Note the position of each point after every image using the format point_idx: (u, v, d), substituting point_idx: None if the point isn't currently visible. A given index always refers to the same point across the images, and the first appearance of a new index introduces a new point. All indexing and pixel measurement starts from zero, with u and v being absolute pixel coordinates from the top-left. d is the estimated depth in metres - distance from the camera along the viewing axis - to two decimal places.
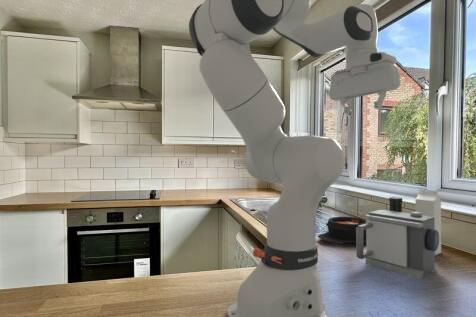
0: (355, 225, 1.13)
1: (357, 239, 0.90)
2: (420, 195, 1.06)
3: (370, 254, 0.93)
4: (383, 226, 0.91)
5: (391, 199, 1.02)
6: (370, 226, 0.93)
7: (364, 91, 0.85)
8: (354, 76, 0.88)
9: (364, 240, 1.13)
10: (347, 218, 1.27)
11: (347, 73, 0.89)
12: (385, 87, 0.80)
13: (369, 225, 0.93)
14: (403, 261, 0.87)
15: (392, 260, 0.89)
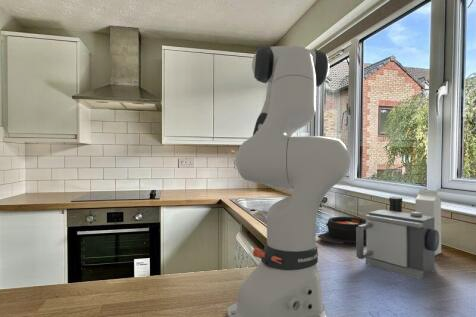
0: (355, 225, 1.13)
1: (357, 239, 0.90)
2: (420, 195, 1.06)
3: (370, 254, 0.93)
4: (383, 226, 0.91)
5: (391, 199, 1.02)
6: (370, 226, 0.93)
7: None
8: None
9: (364, 240, 1.13)
10: (347, 218, 1.27)
11: None
12: None
13: (369, 225, 0.93)
14: (403, 261, 0.87)
15: (392, 260, 0.89)
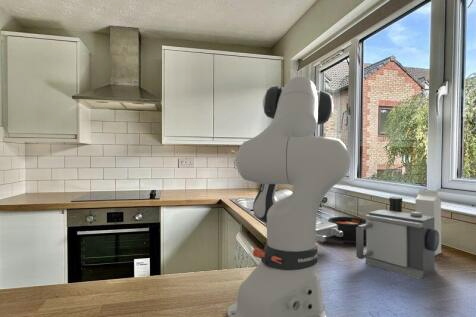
0: (355, 225, 1.13)
1: (357, 239, 0.90)
2: (420, 195, 1.06)
3: (370, 254, 0.93)
4: (383, 226, 0.91)
5: (391, 199, 1.02)
6: (370, 226, 0.93)
7: (323, 227, 1.03)
8: None
9: (364, 240, 1.13)
10: (347, 218, 1.27)
11: None
12: (334, 225, 1.07)
13: (369, 225, 0.93)
14: (403, 261, 0.87)
15: (392, 260, 0.89)
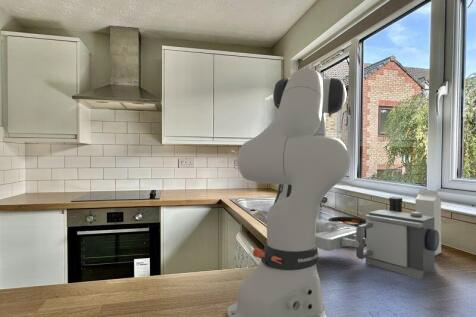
0: (355, 225, 1.13)
1: (357, 239, 0.90)
2: (420, 195, 1.06)
3: (370, 254, 0.93)
4: (383, 226, 0.91)
5: (391, 199, 1.02)
6: (370, 226, 0.93)
7: (350, 233, 0.95)
8: (330, 232, 0.97)
9: None
10: (347, 218, 1.27)
11: (323, 231, 0.97)
12: None
13: (369, 225, 0.93)
14: (403, 261, 0.87)
15: (392, 260, 0.89)
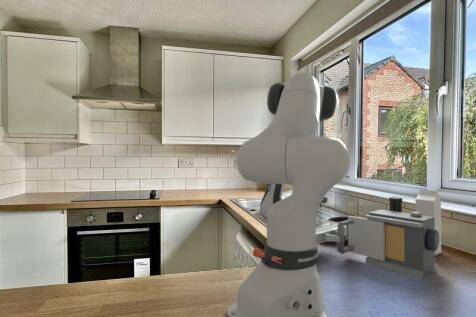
0: None
1: (338, 235, 0.95)
2: (420, 195, 1.06)
3: (351, 249, 0.98)
4: (363, 222, 0.96)
5: (391, 199, 1.02)
6: (351, 222, 0.98)
7: (333, 229, 1.00)
8: None
9: None
10: (347, 218, 1.27)
11: None
12: None
13: (350, 221, 0.98)
14: (381, 255, 0.92)
15: (371, 255, 0.94)
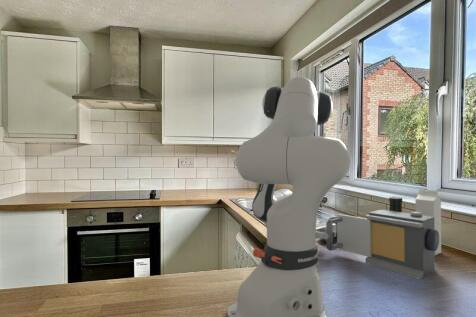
0: None
1: (327, 232, 0.99)
2: (420, 195, 1.06)
3: (340, 246, 1.02)
4: (351, 220, 1.00)
5: (391, 199, 1.02)
6: (340, 220, 1.02)
7: (322, 226, 1.04)
8: None
9: None
10: None
11: None
12: None
13: (339, 219, 1.02)
14: (368, 251, 0.95)
15: (359, 251, 0.98)
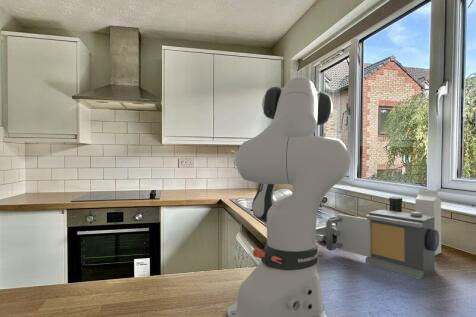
0: None
1: (327, 232, 0.99)
2: (420, 195, 1.06)
3: (339, 246, 1.02)
4: (351, 220, 1.00)
5: (391, 199, 1.02)
6: (339, 220, 1.02)
7: (322, 226, 1.04)
8: None
9: None
10: None
11: None
12: (332, 224, 1.07)
13: (338, 219, 1.02)
14: (367, 251, 0.95)
15: (358, 251, 0.98)
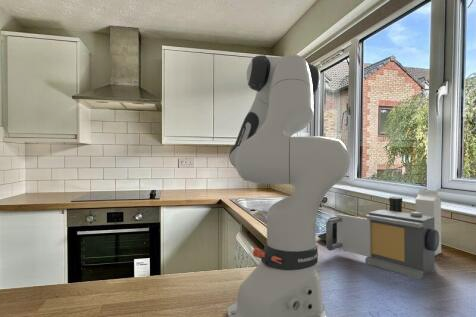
0: None
1: (327, 232, 0.99)
2: (420, 195, 1.06)
3: (339, 246, 1.02)
4: (351, 220, 1.00)
5: (391, 199, 1.02)
6: (339, 220, 1.02)
7: None
8: None
9: None
10: None
11: None
12: None
13: (338, 219, 1.02)
14: (367, 251, 0.95)
15: (358, 251, 0.98)
